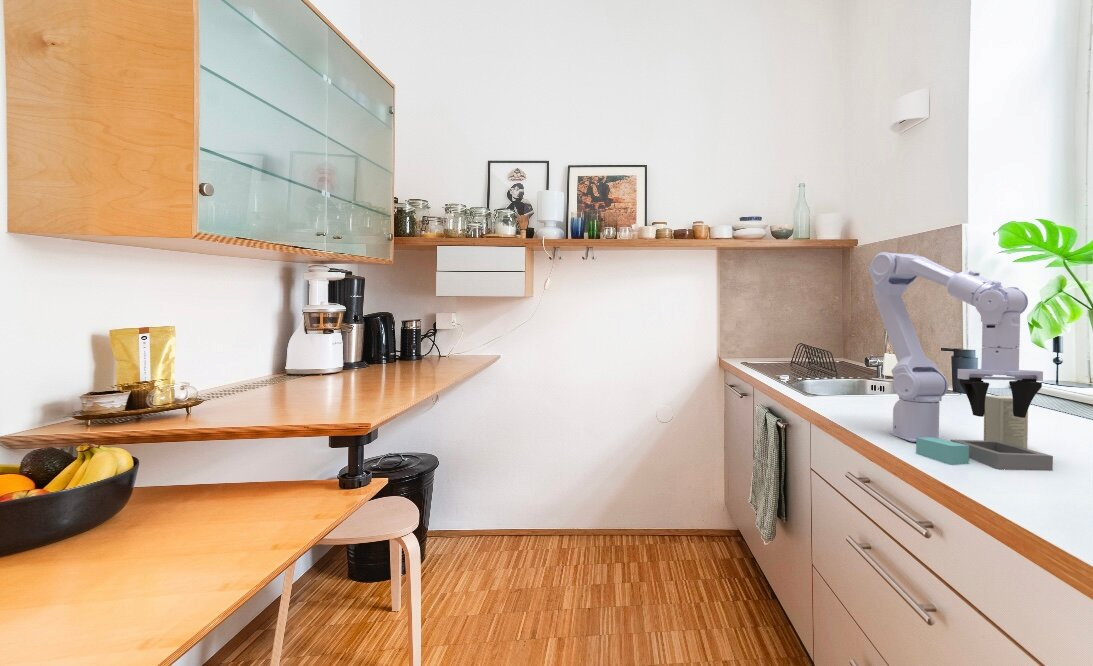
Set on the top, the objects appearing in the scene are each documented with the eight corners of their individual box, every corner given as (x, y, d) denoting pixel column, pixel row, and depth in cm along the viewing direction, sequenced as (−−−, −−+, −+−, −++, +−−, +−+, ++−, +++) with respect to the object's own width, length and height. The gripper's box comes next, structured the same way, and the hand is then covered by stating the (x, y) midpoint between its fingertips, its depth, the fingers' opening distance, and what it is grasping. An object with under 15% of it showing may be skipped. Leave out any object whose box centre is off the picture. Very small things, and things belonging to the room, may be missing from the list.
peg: (915, 456, 112) (916, 437, 112) (932, 456, 112) (933, 437, 112) (950, 466, 104) (951, 445, 104) (968, 466, 104) (969, 445, 104)
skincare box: (1010, 450, 118) (1011, 395, 118) (1028, 455, 113) (1029, 397, 113) (981, 450, 118) (982, 394, 118) (999, 455, 113) (1000, 397, 113)
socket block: (950, 453, 114) (950, 439, 114) (998, 455, 113) (998, 441, 113) (997, 470, 101) (998, 454, 101) (1052, 472, 100) (1052, 455, 100)
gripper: (975, 348, 103) (973, 418, 104) (1057, 349, 102) (1055, 420, 102) (951, 346, 110) (949, 412, 111) (1027, 348, 109) (1025, 415, 109)
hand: (998, 416), depth 107 cm, fingers open, 7 cm apart
